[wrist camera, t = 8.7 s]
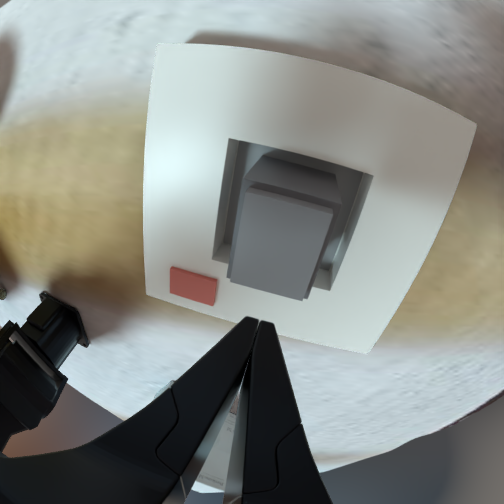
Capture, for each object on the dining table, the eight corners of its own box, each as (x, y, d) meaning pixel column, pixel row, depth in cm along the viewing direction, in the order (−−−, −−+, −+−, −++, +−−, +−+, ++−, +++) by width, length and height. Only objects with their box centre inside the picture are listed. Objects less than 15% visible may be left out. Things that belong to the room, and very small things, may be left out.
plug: (311, 252, 17) (306, 307, 13) (246, 235, 18) (222, 285, 14) (335, 174, 15) (342, 209, 10) (262, 155, 15) (239, 182, 11)
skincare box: (247, 418, 31) (226, 493, 22) (222, 428, 35) (201, 493, 26) (171, 378, 30) (135, 456, 21) (155, 393, 33) (123, 459, 24)
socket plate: (365, 329, 20) (367, 357, 18) (161, 274, 22) (144, 297, 19) (456, 118, 12) (480, 125, 9) (178, 48, 13) (153, 42, 11)
